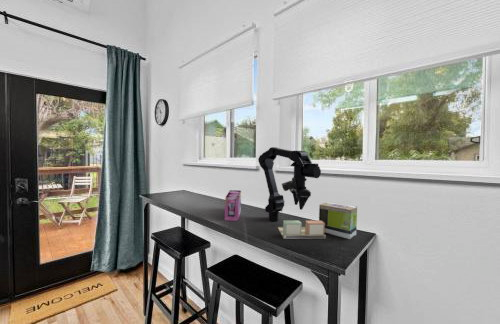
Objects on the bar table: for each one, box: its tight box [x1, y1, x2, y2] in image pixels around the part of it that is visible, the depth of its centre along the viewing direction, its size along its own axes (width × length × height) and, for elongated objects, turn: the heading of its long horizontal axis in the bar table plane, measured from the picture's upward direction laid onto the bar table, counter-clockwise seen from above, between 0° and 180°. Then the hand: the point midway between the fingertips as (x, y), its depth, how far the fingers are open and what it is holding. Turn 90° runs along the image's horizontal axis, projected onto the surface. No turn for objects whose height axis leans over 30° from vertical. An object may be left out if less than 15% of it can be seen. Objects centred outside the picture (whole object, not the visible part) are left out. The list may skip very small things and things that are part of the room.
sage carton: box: [282, 219, 303, 235], centre depth 101 cm, size 4×8×6 cm, turn 93°
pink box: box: [304, 220, 325, 235], centre depth 102 cm, size 4×8×6 cm, turn 94°
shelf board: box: [277, 226, 327, 240], centre depth 106 cm, size 15×19×3 cm
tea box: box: [318, 201, 358, 240], centre depth 107 cm, size 15×10×15 cm, turn 48°
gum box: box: [224, 189, 242, 222], centre depth 136 cm, size 24×8×14 cm, turn 178°
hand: (298, 206), depth 111 cm, fingers open, 9 cm apart
